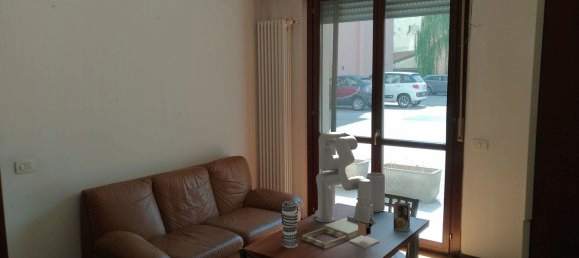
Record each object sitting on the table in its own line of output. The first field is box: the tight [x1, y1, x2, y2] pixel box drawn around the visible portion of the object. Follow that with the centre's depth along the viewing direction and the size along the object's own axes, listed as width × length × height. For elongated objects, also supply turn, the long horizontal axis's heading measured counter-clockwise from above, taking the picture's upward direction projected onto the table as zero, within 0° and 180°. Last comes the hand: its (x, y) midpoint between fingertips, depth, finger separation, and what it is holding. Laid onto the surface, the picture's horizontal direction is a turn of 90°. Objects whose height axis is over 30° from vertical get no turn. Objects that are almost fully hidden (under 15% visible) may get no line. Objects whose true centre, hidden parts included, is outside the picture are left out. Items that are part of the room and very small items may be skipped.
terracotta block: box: [358, 221, 372, 237], centre depth 236 cm, size 5×5×7 cm
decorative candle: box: [280, 200, 299, 249], centre depth 234 cm, size 9×9×25 cm
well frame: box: [301, 226, 360, 250], centre depth 249 cm, size 19×39×2 cm, turn 131°
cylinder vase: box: [365, 172, 386, 213], centre depth 294 cm, size 12×12×25 cm
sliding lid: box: [324, 215, 358, 235], centre depth 254 cm, size 19×19×4 cm
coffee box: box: [392, 201, 411, 233], centre depth 255 cm, size 9×6×16 cm
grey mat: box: [348, 235, 380, 249], centre depth 237 cm, size 12×12×1 cm
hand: (364, 232), depth 236 cm, fingers closed on terracotta block, 5 cm apart
